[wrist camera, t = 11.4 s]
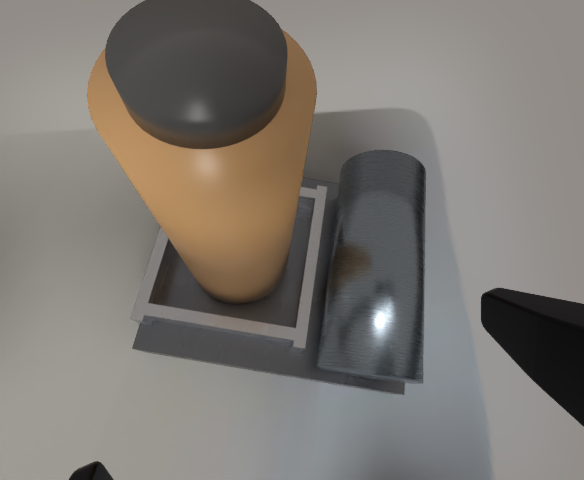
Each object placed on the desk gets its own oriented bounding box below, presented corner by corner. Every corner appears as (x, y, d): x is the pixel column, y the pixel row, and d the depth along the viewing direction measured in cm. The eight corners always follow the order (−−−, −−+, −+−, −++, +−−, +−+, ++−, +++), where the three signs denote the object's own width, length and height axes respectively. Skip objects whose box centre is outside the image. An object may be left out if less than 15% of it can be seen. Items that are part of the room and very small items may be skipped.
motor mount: (391, 393, 21) (447, 397, 14) (144, 351, 21) (90, 336, 14) (399, 210, 25) (444, 151, 19) (197, 175, 25) (174, 105, 19)
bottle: (251, 323, 20) (223, 202, 7) (170, 268, 20) (6, 65, 7) (305, 244, 22) (365, 32, 9) (229, 197, 22) (180, -61, 9)
